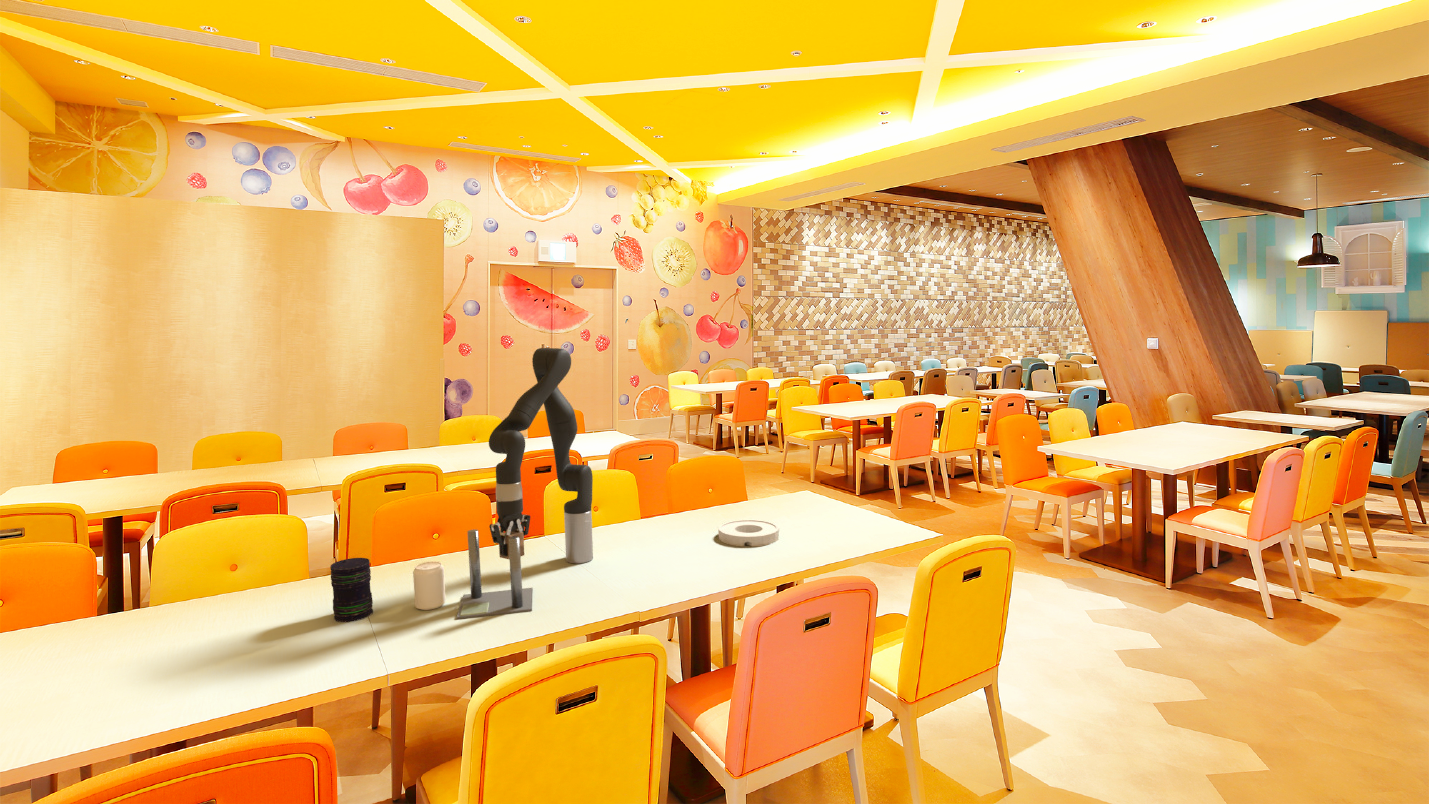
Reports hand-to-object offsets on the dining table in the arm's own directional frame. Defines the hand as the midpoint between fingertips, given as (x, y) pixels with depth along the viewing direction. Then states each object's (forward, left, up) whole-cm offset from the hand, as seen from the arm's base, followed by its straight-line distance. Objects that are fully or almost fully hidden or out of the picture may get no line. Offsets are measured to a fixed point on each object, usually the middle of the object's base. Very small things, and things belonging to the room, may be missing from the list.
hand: (511, 553), depth 201 cm
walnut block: (0, 0, -1) cm, 1 cm away
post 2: (+11, +1, -12) cm, 16 cm away
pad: (+10, -10, -12) cm, 19 cm away
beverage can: (+1, -23, -13) cm, 27 cm away
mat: (+5, -5, -13) cm, 15 cm away
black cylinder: (+2, -43, -13) cm, 45 cm away
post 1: (-1, -11, -12) cm, 16 cm away
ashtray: (-36, +85, -14) cm, 93 cm away
